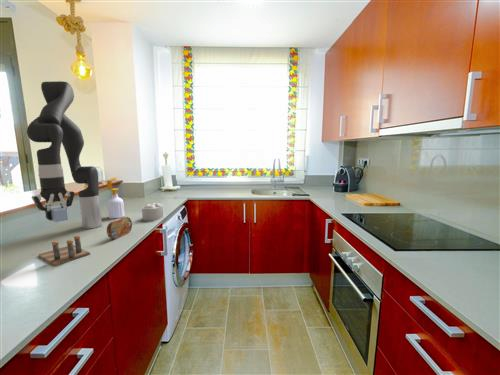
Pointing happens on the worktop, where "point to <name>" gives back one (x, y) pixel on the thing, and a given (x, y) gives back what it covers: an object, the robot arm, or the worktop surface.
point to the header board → (64, 252)
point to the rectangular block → (58, 214)
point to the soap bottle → (115, 203)
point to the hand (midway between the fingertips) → (57, 218)
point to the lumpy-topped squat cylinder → (152, 211)
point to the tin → (119, 227)
